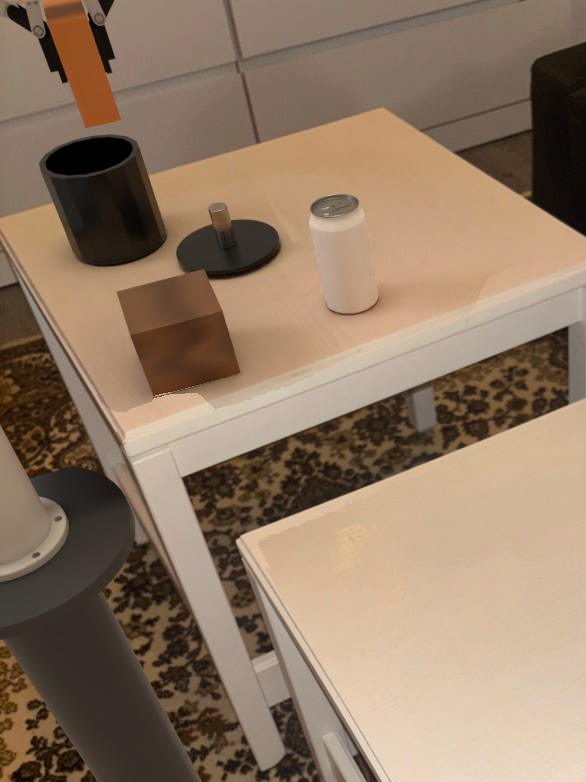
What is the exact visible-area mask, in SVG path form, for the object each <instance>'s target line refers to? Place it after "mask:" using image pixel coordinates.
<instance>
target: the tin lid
mask: <svg viewBox="0 0 586 782" xmlns="http://www.w3.org/2000/svg"><path fill="white" fill-rule="evenodd" d="M207 211H208V214H209V217H210V220H211V223H210V224H207V225H205V226H202V227H199V228H198V229H196V230H194V231H192V232H190V233H189V234H188V235H186V236H185V237H184V238H183V239H182V240H181V241H180V242H179V243H178V245H177V247H176V250H175V253H176V259H177V262H178V263H179V265H180V266H181V267H182V268H184V269H185V270H187V271H189V272H194V271H198V270H202V269H204V270H205V272H206V275H207V276H208V275H210V276H219V275H229V274H234V273H240V272H242V271H246V270H249V269H252V268H255V267H257V266H259V265H261V264H263V263H265V262H266V261H268V260H269V259H270V258H271V257H273V256H274V254H276V252H277V250H278V249H279V247H280V244H281V243H280V242H281V240H280V234H279V232H278V231H277V228H276V227H274V226H272V225H271V224H270V223H266V222H265V221H261V220H256V219H248V218H247V219H245V218H244V219H243V218H241V219H231V216H230V212H229V209H228V205H227V204H226V203H225V202H214V203H211V204H210V205H209V206H208V207H207Z"/></svg>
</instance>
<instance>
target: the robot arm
mask: <svg viewBox="0 0 586 782" xmlns="http://www.w3.org/2000/svg"><path fill="white" fill-rule="evenodd" d="M82 1H83V3H84V5H85V7H86V10H87V13H86V16H87V19H88V22H89V25H90V28H91V31H92V34H93V37H94V40H95V43H96V46H97V49H98V51H99V54H100V57H101V60H102V63H103V66H104V69H105V72H106V75H109V74H113V70H112V67H111V64H110V61H112V60H113V61H114V60H116V56H115V53H114V49H113V46H112V42H111V40H110V37H109V35H108V31H107V28H106V25H105V24H106V22H107V17H108V15H109V13H110V11H111V9H112V7H113V5H114V3H115V0H82ZM22 4H24V7H23V6H22ZM0 17H2V18H6V19H10V20H11V21H12V22H14V23H15V24H17V25H18V26H20V27H22V28H23V29H25V30H27V31H28V32H30V33H31V34H32V35H33V36H34V37H35V38H37V40H38V43H39V45H40V48H41V51H42V53H43V56H44V59H45V62H46V64H47V67H48V69H49V72H50V73H55V72H57V73H58V75H59V78H60V81H61V83H62V84H67V83H68V84H69V81H68V79H67V76H66V73H65V70H64V68H63V65H62V62H61V59H60V57H59V54H58V51H57V48H56V46H55V43H54V40H53V37H52V35H51V32H50V29H49V26H48V23H47V21H45V20H44V18H43V15H42V10H41V5H40V0H0ZM29 478H30V477H29V476H28V474H27V472H26V470H25V468H24V466H23V464H22V462H21V461H20V458H19V457H18V455H17V453H16V452H15V449H14V447H13V446H12V444H11V442H10V440H9V438H8V437H7V435H6V433H5V431H4V429H3V427H2V425H1V424H0V582H5V581H10V580H13V579H16V578H19V577H22V576H24V575H26V574H29V573H31V572H33V571H34V570H36V569H38V568H40V567H41V566H43V565H44V564H45V563H47V562H48V561H49V560H51V559H52V558H53V557H54V556H55V555H56V554H57V553H58V551H59V550H60V549H61V547H62V546H63V545H64V543H65V541H66V539H67V536H68V532H69V521H68V519H67V517H66V514H65V512H64V511H63V509H62V508H61V506H59V505H58V504H57V503H56V502H54V501H52V500H50V499H47V498H43V497H39V496H38V494H37V492H36V490H35V489H34V487H33V485H32V483H31V481H30V479H29Z"/></svg>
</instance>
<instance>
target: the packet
mask: <svg viewBox="0 0 586 782" xmlns="http://www.w3.org/2000/svg"><path fill="white" fill-rule="evenodd" d="M82 1H83V0H42V2H41V4H42V8H43V12H44V15H45V20H46V22H47V25H48V27H49V29H50V32H51V35H52V37H53V40H54V43H55V46H56V48H57V51H58V54H59V57H60V59H61V62H62V65H63V68H64V70H65V73H66V76H67V79H68V84H69V87H70V90H71V92H72V96H73V98H74V101H75V103H76V106H77V109H78V111H79V114H80V117H81V120H82V122H83V125H84V128H85V129H88V128H89V129H90V128H93V127H97V126H102V125H106V124H111V123H115V122H120V121H122V117H121V115H120V112H119V108H118V106H117V103H116V100H115V97H114V94H113V91H112V87H111V84H110V82H109V79H108V74H107V72H105V69H104V66H103V63H102V60H101V57H100V54H99V51H98V49H97V46H96V43H95V40H94V37H93V34H92V31H91V28H90V25H89V22H88V21H89V18H88V15H87V13H86V9H85V8H84V4H83V2H82Z"/></svg>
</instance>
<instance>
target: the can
mask: <svg viewBox="0 0 586 782" xmlns="http://www.w3.org/2000/svg"><path fill="white" fill-rule="evenodd" d="M309 211H310V216H309V219H308V220H309V221H308V223H309V224H308V225H309V231H310V236H311V239H312V244H313V248H314V249H313V250H314V252H315V253H314V254H315V257H316V262H317V267H318V272H319V277H320V281H321V287H322V291H323V295H324V300H325V304H326V306H327V308H328V309H330V310H331V311H332V312H335V313H337V314H340V315H356V314H361V313H364V312H367V311H368V310H370V309H371V308H373V307H374V306H375V304H376V303H377V302H378V300H379V289H378V283H377V278H376V271H375V266H374V265H375V264H374V260H373V253H372V248H371V241H370V236H369V235H370V234H369V230H368V225H367V219H366V214H365V211H364V210H363V208H362V207H361V206H360V200H359V199H358V197H356V196H354V195H352V194H348V193H334V194H327V195H324V196H321V197H319V198H317V199H315V200H314V201H313V202H312V203H311V204H310V206H309Z"/></svg>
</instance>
